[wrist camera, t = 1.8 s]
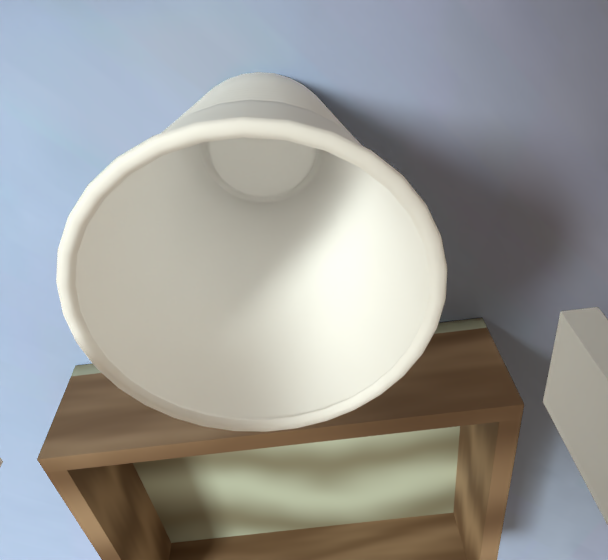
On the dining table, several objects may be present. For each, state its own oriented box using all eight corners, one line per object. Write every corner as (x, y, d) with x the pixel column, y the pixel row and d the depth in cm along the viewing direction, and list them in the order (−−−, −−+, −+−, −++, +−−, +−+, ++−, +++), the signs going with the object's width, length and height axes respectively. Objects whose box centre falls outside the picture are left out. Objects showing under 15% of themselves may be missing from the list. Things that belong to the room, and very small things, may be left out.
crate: (75, 365, 30) (37, 459, 25) (482, 317, 29) (524, 404, 24) (163, 541, 40) (148, 630, 35) (463, 508, 40) (490, 595, 35)
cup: (175, -30, 19) (91, 43, 10) (423, 75, 22) (528, 208, 13) (119, 206, 24) (31, 392, 16) (324, 269, 27) (350, 460, 18)
